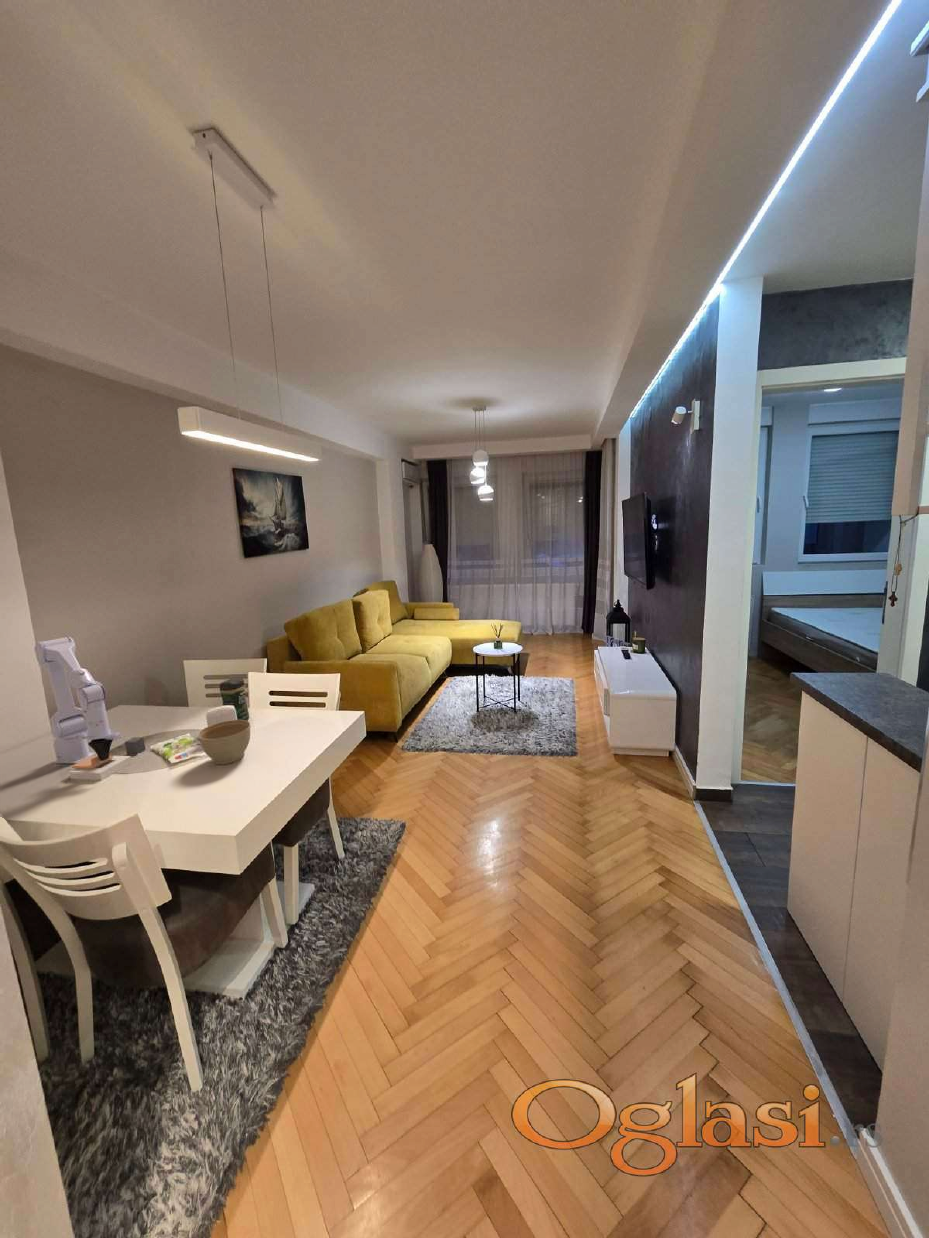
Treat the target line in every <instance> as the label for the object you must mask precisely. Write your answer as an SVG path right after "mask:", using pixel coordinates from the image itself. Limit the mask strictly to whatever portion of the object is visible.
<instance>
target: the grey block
mask: <svg viewBox="0 0 929 1238" xmlns="http://www.w3.org/2000/svg"><path fill="white" fill-rule="evenodd" d="M124 746H125V750H126V754H132V755H131V756H137V754H138V753H140V754H141V753H143V752H145V751H146V750H145V749H146V745H145V739H144V737H142V736H140V737H131V738H129V739H128V740H126V741H124ZM144 750H145V751H144ZM138 755H139V754H138Z"/></svg>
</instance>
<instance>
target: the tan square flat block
mask: <svg viewBox="0 0 929 1238" xmlns="http://www.w3.org/2000/svg"><path fill="white" fill-rule="evenodd" d="M113 756H114V755H111V754H110V752H109V758H108V759H106V760H104V761H101V760H100V759H99V757H98V755H97V754H95V755H92V756H90V757H88V758H86V759H84V760H82V761H80V762H78V763H76V764H74V763H73V765H71V769H76V768H83V769H93V768H95V767H96V766H98V765H100V764H102V763H104V762H106V761H108V760H110V759H112V758H113Z"/></svg>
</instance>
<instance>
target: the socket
mask: <svg viewBox="0 0 929 1238" xmlns="http://www.w3.org/2000/svg"><path fill="white" fill-rule="evenodd" d="M112 756H113V758H112V759H110V760H108V761H106V762H104V763H102V764H100V765H98V766H96V767H95V768H93V769H83V768H73V769H72V770H70V771H68V773H69V777H70V780H88V781H103V780H105V779H107V778H109V777H110V776H112V775H114V774H116V773H117V772H119V771H120V770H123V769H124V768H126V767H128V766H129V765H131V763H132V764H133V758H132V755H112ZM113 773H114V774H113Z"/></svg>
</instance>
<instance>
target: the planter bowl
mask: <svg viewBox="0 0 929 1238" xmlns="http://www.w3.org/2000/svg"><path fill="white" fill-rule="evenodd" d="M197 738H198V740H199V744H200V747H201V749H202V750H203V752H204V753H205V754H206V755H207V756H208V757H209V759H210V758H211V760H213V763H214V764H216V765H229V764H232V763H234V762H237V761H239V760H241V759H242V758H243V757H244V756H245V752H246V750H247V748H248V746H249V744H250V743H249V742H250V739H251V723H250V721H249V720H247V721H245V720H229V721H224V722H220V723H216V724H213V725H211V726H208V725H207V726H206V727H204V728H202V729H201V730H200V731H199V732H198V733H197Z"/></svg>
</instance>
